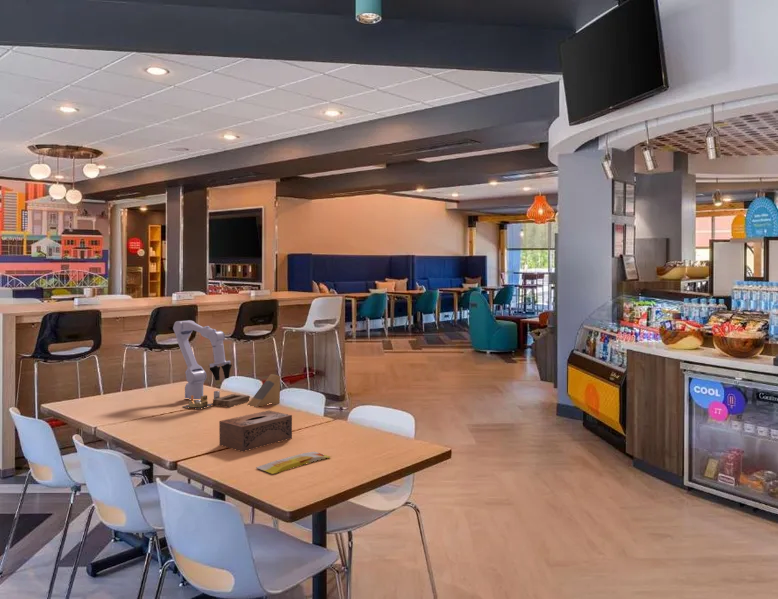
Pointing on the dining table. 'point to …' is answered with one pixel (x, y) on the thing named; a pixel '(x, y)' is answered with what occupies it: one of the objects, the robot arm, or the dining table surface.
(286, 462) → the food package
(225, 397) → the slot block
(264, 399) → the sandwich container
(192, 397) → the nut base
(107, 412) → the dining table surface
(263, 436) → the tissue box cover
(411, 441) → the dining table surface
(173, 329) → the robot arm
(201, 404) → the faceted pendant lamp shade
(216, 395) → the pin
